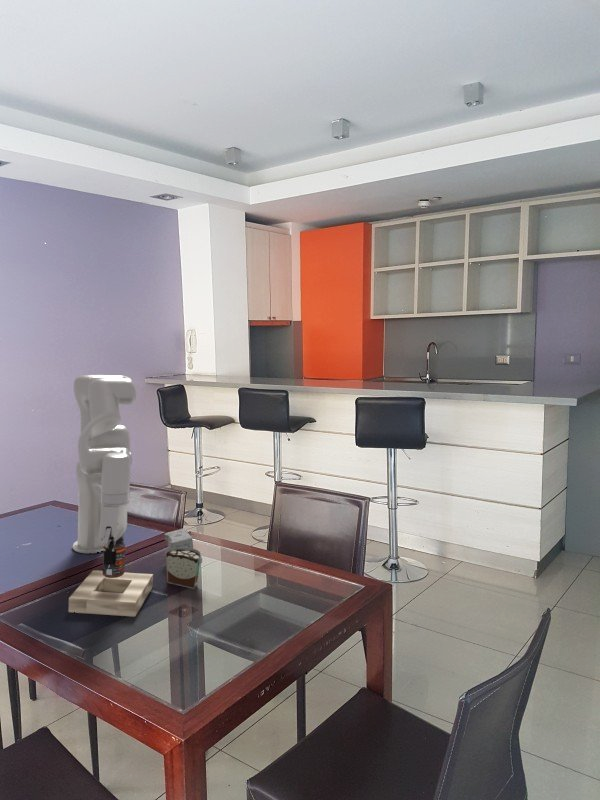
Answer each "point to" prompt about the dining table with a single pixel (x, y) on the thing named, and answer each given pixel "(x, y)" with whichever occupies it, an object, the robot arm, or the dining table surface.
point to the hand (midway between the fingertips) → (113, 558)
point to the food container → (183, 566)
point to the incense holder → (178, 539)
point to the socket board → (111, 594)
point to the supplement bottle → (118, 568)
